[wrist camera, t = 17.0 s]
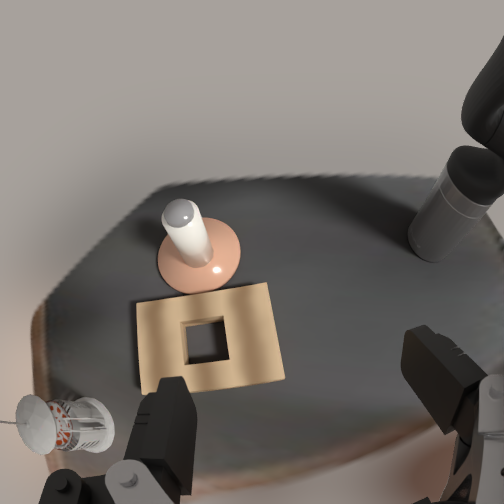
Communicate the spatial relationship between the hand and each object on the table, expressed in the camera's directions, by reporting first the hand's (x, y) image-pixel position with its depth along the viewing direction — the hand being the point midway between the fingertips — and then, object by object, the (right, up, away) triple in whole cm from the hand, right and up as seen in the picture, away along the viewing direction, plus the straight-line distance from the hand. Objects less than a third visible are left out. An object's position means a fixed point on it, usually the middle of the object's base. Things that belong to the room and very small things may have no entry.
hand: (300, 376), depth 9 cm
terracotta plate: (-10, +4, +40) cm, 41 cm away
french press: (-27, -23, +27) cm, 45 cm away
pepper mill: (-10, +4, +39) cm, 41 cm away
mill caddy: (-8, -9, +33) cm, 35 cm away
